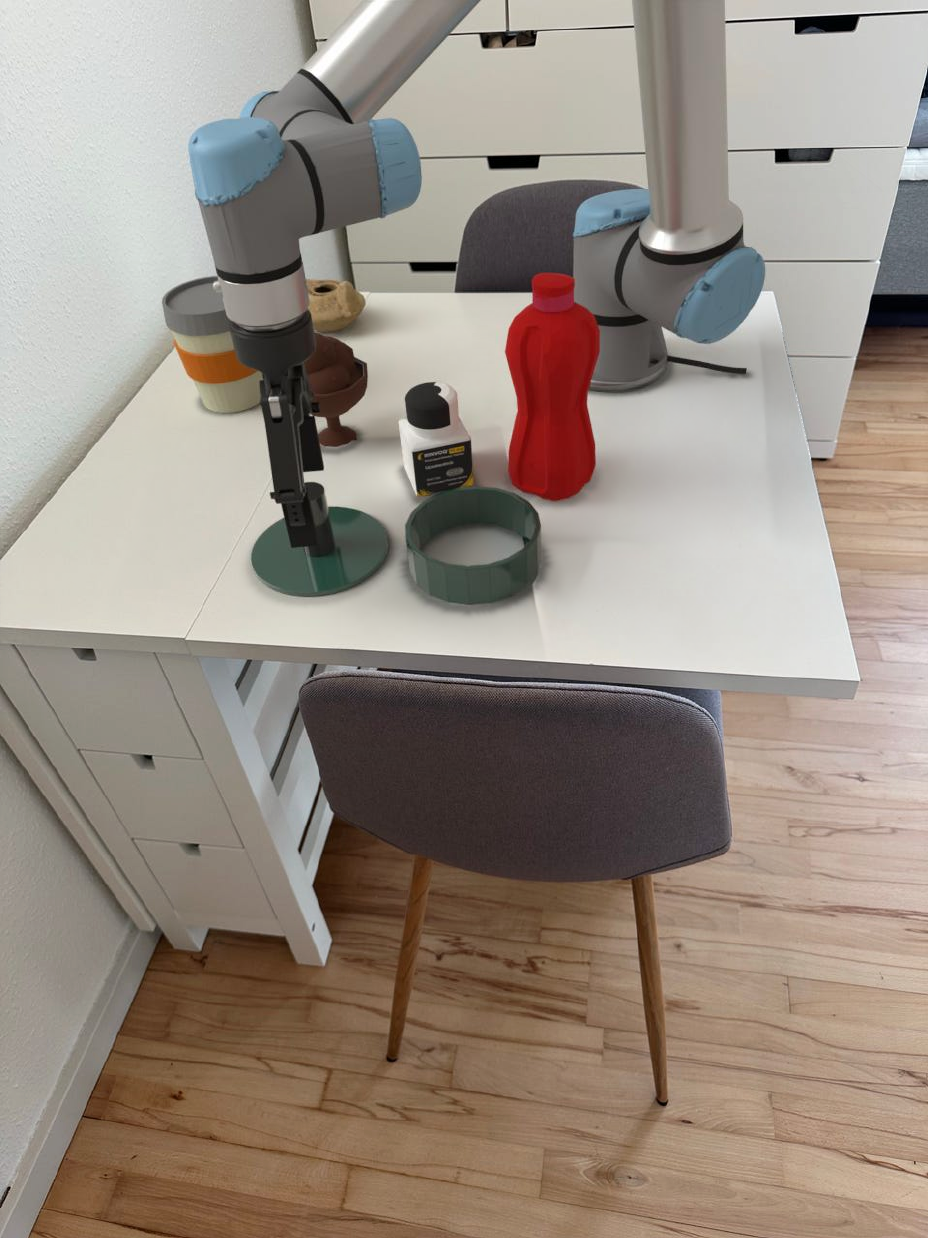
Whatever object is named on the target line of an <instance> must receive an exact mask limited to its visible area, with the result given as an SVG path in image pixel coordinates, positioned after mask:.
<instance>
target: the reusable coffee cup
mask: <svg viewBox="0 0 928 1238" xmlns="http://www.w3.org/2000/svg"><path fill="white" fill-rule="evenodd" d="M214 281H218V275H212V276H210V275H209V276H204V277H199V278H195V279H191V280H188V281H185V282H182V283H180V284H178V285H176V286H174V287H172V288H170V290H168V291H167V292H165V294H164V295H163V297H162V300H161V304H162V311H163V317H164V320H165V321H164V322H165V324H166V327H167V328H168V329H169V330H170V332H171V333H172V336H173V337H174V340H173V346H174V347H175V350H176V352H177V355H178V356H179V359H180V361H181V363H182V365H183V368H184V370H185V372H186V374H187V376H188V377H189V378H190V379H192V381H193V383H194V386H195V387H196V391H197V392H198V395H199V397H200V399H201V401H202V404H203V405H204V407H205V408H206V409H208V410H209V411H210V412H215V413H220V414H233V413H238V412H243V411H246V410H249V409H252V408H254V407H255V406H257V405H260V397H261V394H260V386H259V381H260V380H263V377H262V373H261V372H260V371H257V370H255V369H250V368H248V367H246V366H244V365H242V364H241V363H240V362H239V361H238V359H237V357H236V354H235V350H234V346H233V342H232V338H231V334H230V330H229V323H230V321H231V320H230V319H229V318H228V317H227V315H226V310H225V306H224V302H223V293H222V292H216V291H214V289H213V284H214Z"/></svg>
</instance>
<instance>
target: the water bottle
mask: <svg viewBox="0 0 928 1238" xmlns="http://www.w3.org/2000/svg"><path fill="white" fill-rule="evenodd" d="M574 287H575V279H574V278H573V276H571V275H568V274H564V273H559V272H540V273H537V274H536V275H534V276H533V278H532V280H531V289H532V292H531V294H532V296H531V297H532V298H531V299H532V302H531V303H530V304H528V305H527V306H525V307H524V308H523V309H522V310H521V311H519V313H517V315H515V316H514V317H513V319H512V321H511V324H510V325H509V327H508V330H507V335H506V336H507V338H506V341H505V348H504V354H505V358H506V361H507V366H508V369H509V373H510V378H511V381H512V385H513V388H514V393H515V397H516V407H517V410H516V411H517V412H516V416H515V420H514V425H513V429H512V434H511V438H510V441H509V447H508V455H507V456H508V461H507V472H508V476H509V479H510V482H511V485H512V486H513V487H514V488H516V489H518V490H519V491H521V492H522V493H525V494H530V495H535V496H536V497H539V498H541V499H542V500H547V501H550V502H551V501H552V502H558V501H563V500H568V499H571V498H572V497H574V496H575V495H577V494H579V493H580V492H581V491H582V489H584V487H585V485H587V484H588V483H589V482H591V479H592V476H593V474H594V471H595V468H596V465H597V464H596V463H597V461H596V460H597V459H596V458H597V457H596V442H595V437H594V432H593V427H592V422H591V416H590V412H589V408H588V407H589V406H588V395H589V394H588V393H589V390H590V389H589V387H590V383H591V380H592V376H593V373H594V369H595V366H596V363H597V359H598V356H599V352H600V330H599V327H598V324H597V322H596V319H595V317H594V315H593V314H592V313H591V312H590V311H589V310H588V309H587V308H585V307H583V306H581V305H580V304H578V303H576V302H574Z"/></svg>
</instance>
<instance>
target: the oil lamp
mask: <svg viewBox="0 0 928 1238" xmlns="http://www.w3.org/2000/svg"><path fill="white" fill-rule="evenodd" d="M306 283H307V289H308V295H309V301H310V305H309V307H308V310H309V311H310V313H311V316H312V322H313V327H314V331H316V332H319V333H331V332H336V331H341V330H344V329H346V328H347V327H349V326H350V325H351V323H352V322H353V321H355V319H357V318H358V317H359V316H360V315H361V313H362V312H363V310H364V308H365V307H366V303H367V302H366V298H365V296H364V295H363V294H362V293H360V292H359V291H358V290H357V289H355V287H354V285H353V284H352V283H351V281H348V280H344V281H342V280H338V279H314V278H306Z"/></svg>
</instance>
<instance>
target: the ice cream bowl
mask: <svg viewBox="0 0 928 1238" xmlns="http://www.w3.org/2000/svg"><path fill="white" fill-rule="evenodd" d="M314 333H315V339H316V349H315V352H314V353H313V355H312V356H311V357H310V358H309V359H308V360H306V361H305V362H304V364H305V368H306V371H307V375H308V378H309V381H310V385H311V388H312V392H313V393H314V396H313V400H311V401H312V402H319V404H320V413H312V414H310V416H315V418H324V419H325V420H326V426H327V427H325V428H324V429H323V430H321V431H320V432H319V433H318V437H319V443H320V446H323V447H329V448H338V447H342V446H345V445H348V444H349V443H351V442H352V441H357V440H358V436H357V435H358V434H357V432H356V431H355V430H354V429H353V428H351V427H349V426H348V425H342V424H341V420H340V416H342V415H345V414H346V413H347V412H349V411H350V410H351V409H352V408H353V407H354V406H356V405H357V404H358V403H359V402H360V401H361V400H362V399H363V398H364V396H365V394H366V392H367V389H368V381H369V375H368V374H369V373H368V363H367V362H366V361H364V360H361V359H360V358H357V357H355V353H354V349H353V348H352V347H351V346H349V345H348V344H346V343H345V342H343V341H341V340H340V339H339V338H336V337H334V336H332V335H331V336H330V335H324V334H321V333H318V332H314Z"/></svg>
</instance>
